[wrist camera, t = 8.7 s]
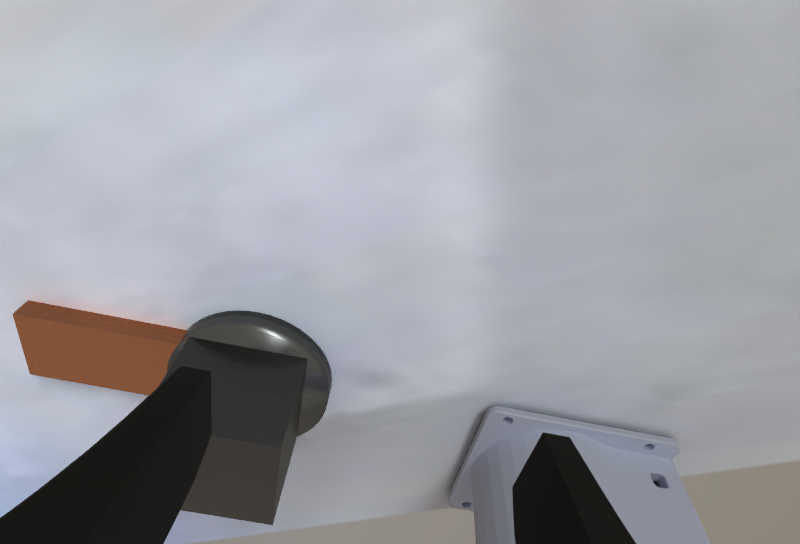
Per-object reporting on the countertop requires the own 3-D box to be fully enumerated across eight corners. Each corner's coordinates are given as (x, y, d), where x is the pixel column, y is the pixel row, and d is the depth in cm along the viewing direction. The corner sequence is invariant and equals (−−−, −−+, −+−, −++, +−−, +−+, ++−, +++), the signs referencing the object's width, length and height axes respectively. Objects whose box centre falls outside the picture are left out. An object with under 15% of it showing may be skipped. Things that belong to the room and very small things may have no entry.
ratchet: (341, 327, 22) (327, 391, 19) (322, 433, 26) (307, 500, 23) (19, 265, 21) (-52, 322, 18) (51, 385, 25) (-4, 448, 22)
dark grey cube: (307, 358, 21) (281, 447, 17) (297, 433, 24) (272, 524, 20) (189, 336, 21) (135, 422, 17) (192, 415, 24) (147, 504, 20)
